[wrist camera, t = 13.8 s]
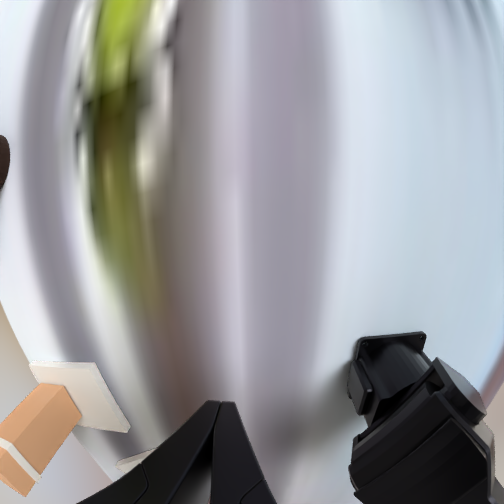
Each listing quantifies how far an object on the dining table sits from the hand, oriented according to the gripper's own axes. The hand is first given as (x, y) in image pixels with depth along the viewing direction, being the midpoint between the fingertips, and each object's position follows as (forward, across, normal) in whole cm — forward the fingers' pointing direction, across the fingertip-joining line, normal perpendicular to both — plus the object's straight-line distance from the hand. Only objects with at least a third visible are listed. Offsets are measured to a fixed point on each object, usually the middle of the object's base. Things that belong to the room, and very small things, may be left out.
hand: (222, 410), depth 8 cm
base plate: (+13, +20, +15) cm, 28 cm away
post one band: (+12, +22, +15) cm, 29 cm away
